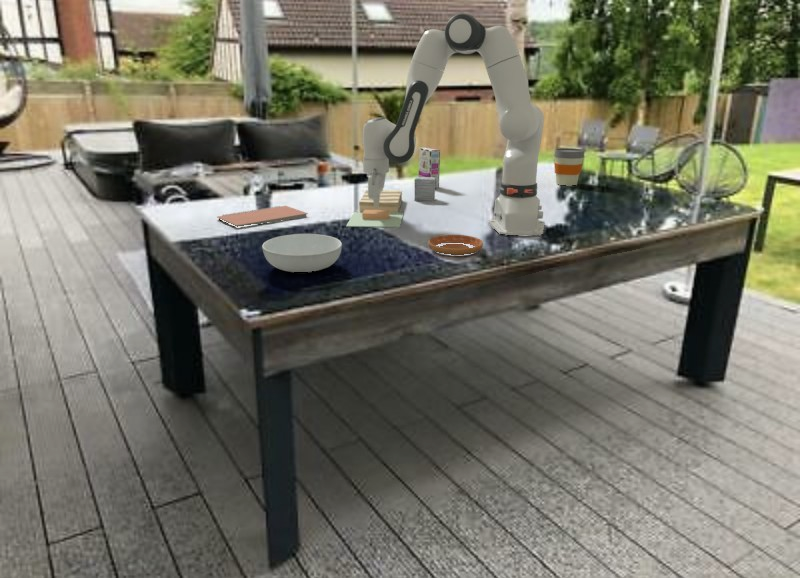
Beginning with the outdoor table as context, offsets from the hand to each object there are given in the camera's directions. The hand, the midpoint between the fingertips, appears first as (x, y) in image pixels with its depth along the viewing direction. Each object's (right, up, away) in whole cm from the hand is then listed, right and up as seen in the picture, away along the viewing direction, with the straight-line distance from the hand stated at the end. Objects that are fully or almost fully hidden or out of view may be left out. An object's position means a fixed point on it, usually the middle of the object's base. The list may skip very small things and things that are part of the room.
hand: (376, 206), depth 220 cm
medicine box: (+18, +6, +29) cm, 35 cm away
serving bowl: (-18, -23, -51) cm, 59 cm away
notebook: (-40, -5, +2) cm, 41 cm away
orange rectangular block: (0, -2, 0) cm, 2 cm away
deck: (+1, +2, +18) cm, 18 cm away
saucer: (+24, -18, -36) cm, 47 cm away
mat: (0, -5, -1) cm, 5 cm away
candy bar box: (+21, +16, +55) cm, 61 cm away
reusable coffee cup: (+82, +17, +59) cm, 103 cm away
